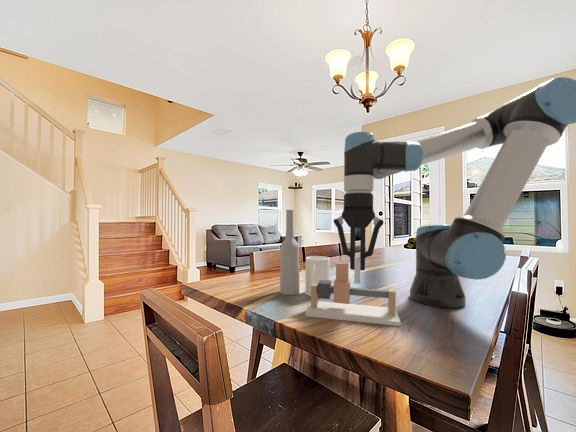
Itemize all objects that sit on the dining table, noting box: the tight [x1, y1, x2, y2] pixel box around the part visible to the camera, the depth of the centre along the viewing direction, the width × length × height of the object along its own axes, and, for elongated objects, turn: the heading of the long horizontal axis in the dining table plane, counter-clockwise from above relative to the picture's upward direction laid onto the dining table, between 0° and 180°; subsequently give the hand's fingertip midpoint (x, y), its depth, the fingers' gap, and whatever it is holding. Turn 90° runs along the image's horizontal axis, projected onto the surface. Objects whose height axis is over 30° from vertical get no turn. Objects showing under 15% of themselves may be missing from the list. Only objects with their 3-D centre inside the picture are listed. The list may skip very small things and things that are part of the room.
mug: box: [304, 255, 331, 297], centre depth 89 cm, size 12×8×12 cm
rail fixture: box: [304, 280, 402, 327], centre depth 72 cm, size 23×10×8 cm, turn 75°
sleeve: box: [333, 261, 351, 304], centre depth 72 cm, size 4×5×10 cm
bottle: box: [279, 209, 300, 296], centre depth 91 cm, size 7×7×28 cm
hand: (357, 282), depth 71 cm, fingers closed
